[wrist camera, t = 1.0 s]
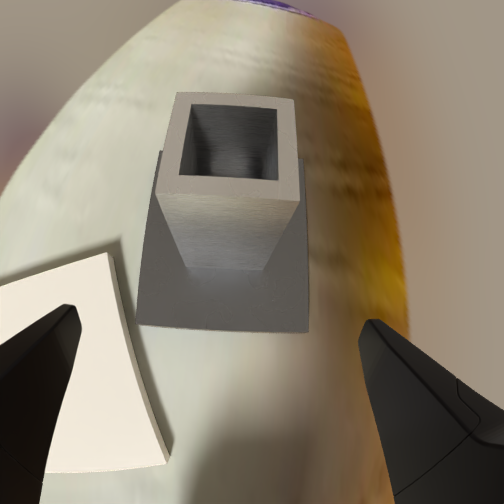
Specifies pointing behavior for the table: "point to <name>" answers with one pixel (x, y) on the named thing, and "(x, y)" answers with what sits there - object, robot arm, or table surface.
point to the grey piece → (224, 282)
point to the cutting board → (91, 370)
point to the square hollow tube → (229, 177)
